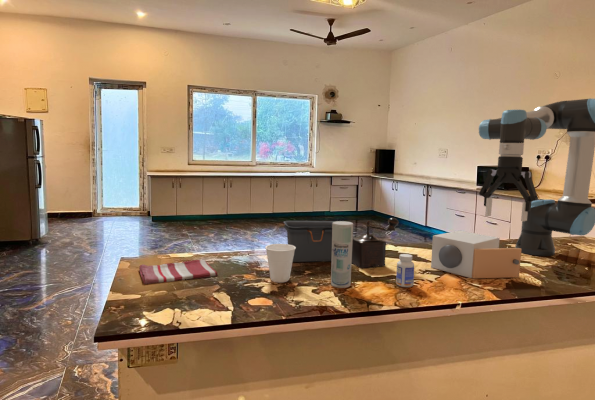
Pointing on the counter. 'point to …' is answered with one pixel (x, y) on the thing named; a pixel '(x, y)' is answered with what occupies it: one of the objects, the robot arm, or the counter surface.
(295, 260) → the storage bin
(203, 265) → the dish towel
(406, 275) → the pill bottle
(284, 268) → the cup
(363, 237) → the dark manual coffee grinder
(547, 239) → the robot arm
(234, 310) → the counter surface
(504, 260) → the side door
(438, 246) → the block
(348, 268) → the spray can
